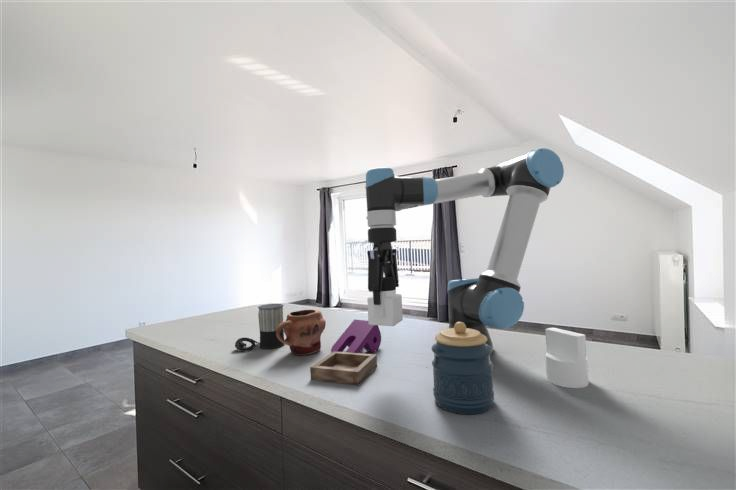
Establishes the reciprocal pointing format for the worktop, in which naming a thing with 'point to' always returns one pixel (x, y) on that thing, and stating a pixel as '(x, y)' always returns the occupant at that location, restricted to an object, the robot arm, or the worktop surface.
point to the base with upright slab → (566, 358)
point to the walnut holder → (344, 367)
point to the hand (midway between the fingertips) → (385, 313)
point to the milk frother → (266, 328)
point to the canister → (462, 370)
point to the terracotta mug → (302, 331)
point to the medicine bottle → (387, 305)
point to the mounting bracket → (359, 338)
